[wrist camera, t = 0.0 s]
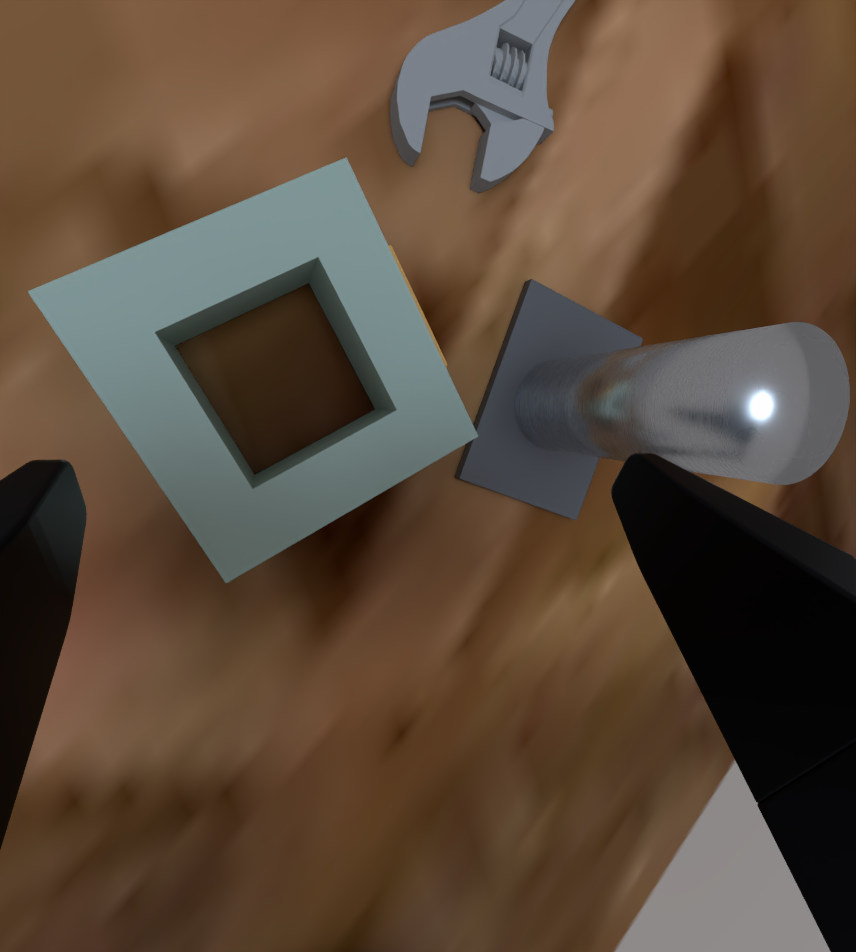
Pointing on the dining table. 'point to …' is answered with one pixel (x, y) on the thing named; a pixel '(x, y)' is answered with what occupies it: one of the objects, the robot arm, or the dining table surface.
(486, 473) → the pad
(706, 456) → the metal barrel peg
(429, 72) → the adjustable wrench
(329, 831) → the dining table surface
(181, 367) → the socket block
